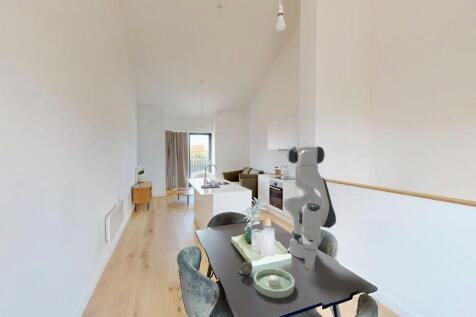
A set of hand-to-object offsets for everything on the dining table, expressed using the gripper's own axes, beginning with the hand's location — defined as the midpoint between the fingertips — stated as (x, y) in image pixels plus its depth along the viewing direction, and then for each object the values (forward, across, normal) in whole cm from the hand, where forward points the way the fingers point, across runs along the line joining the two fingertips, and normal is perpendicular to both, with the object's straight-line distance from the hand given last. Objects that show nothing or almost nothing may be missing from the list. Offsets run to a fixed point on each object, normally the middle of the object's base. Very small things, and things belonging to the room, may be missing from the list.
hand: (309, 265), depth 111 cm
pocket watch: (+13, -3, -34) cm, 36 cm away
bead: (+2, 0, 0) cm, 2 cm away
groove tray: (+13, +2, -17) cm, 21 cm away
